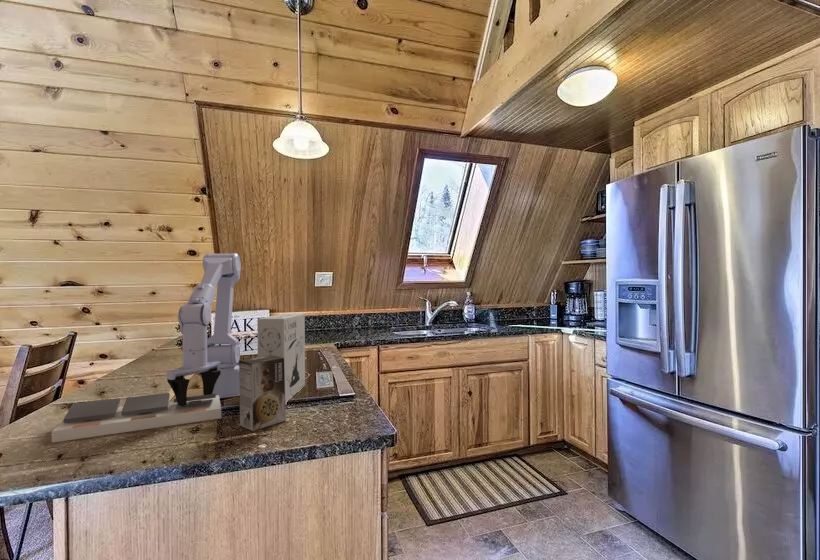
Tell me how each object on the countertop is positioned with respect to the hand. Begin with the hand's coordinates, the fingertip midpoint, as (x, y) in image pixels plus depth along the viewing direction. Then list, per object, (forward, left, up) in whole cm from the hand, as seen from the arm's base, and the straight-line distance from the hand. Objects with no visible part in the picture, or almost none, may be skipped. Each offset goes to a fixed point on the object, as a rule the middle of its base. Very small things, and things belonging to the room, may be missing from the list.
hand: (195, 401), depth 106 cm
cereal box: (-24, -9, -4) cm, 26 cm away
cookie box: (-15, +14, -4) cm, 21 cm away
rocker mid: (+11, -3, 0) cm, 12 cm away
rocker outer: (+22, -3, 0) cm, 22 cm away
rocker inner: (0, -3, 0) cm, 3 cm away
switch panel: (+11, -3, -4) cm, 12 cm away
